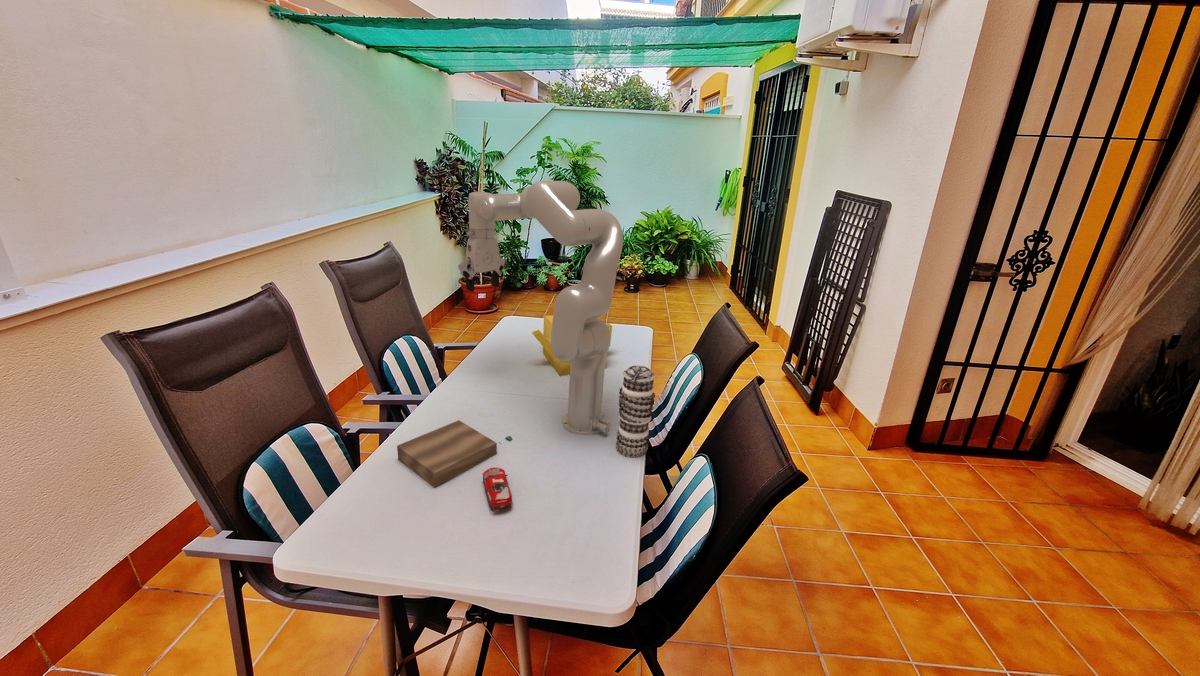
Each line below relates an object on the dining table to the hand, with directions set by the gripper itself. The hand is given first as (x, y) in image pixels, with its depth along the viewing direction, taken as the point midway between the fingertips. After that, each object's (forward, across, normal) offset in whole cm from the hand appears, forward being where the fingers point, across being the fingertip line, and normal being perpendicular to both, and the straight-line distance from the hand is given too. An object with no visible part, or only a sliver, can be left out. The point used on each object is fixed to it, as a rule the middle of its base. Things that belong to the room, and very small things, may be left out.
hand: (483, 288), depth 156 cm
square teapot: (+33, +29, -14) cm, 46 cm away
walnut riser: (+32, -34, -30) cm, 56 cm away
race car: (+34, -34, -46) cm, 67 cm away
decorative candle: (+33, 0, -62) cm, 70 cm away
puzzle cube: (+33, -20, -35) cm, 53 cm away
